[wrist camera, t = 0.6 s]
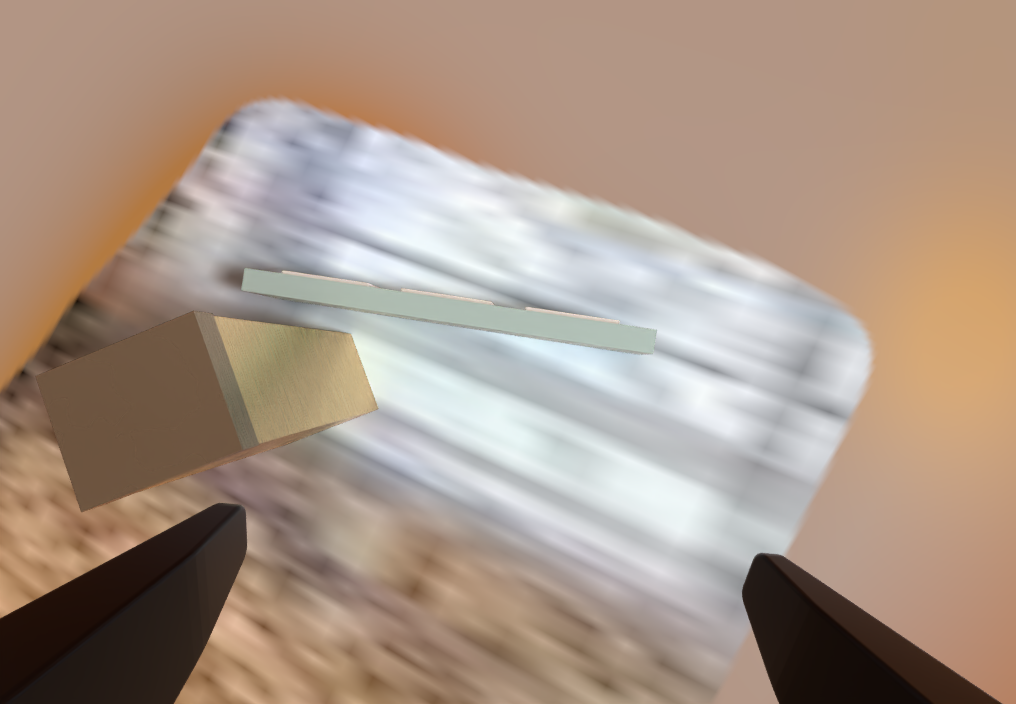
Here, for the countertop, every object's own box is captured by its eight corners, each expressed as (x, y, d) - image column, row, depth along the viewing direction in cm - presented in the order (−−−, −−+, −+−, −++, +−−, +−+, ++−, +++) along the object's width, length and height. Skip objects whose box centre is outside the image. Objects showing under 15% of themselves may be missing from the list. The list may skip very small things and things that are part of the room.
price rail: (280, 299, 25) (241, 290, 22) (283, 275, 25) (245, 263, 22) (639, 354, 24) (653, 353, 21) (643, 330, 24) (657, 325, 21)
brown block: (287, 445, 25) (81, 512, 14) (259, 368, 25) (34, 374, 14) (379, 409, 25) (242, 449, 14) (351, 331, 25) (192, 309, 14)
